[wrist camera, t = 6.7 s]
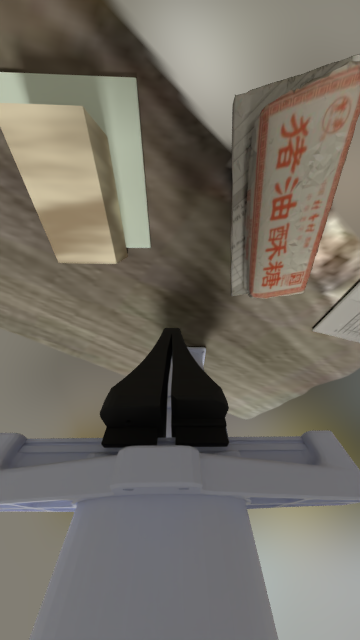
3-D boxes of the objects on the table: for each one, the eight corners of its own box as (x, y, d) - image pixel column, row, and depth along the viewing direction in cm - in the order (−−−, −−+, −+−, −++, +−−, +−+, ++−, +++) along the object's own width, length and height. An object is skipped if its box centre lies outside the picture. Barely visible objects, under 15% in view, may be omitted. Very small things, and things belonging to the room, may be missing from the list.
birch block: (116, 263, 15) (82, 105, 10) (58, 262, 15) (-11, 102, 9) (127, 256, 18) (107, 136, 13) (80, 255, 18) (39, 134, 13)
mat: (150, 247, 18) (150, 248, 18) (54, 245, 18) (52, 246, 18) (136, 80, 11) (135, 77, 11) (-18, 74, 11) (-22, 71, 11)
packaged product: (324, 295, 17) (240, 309, 18) (297, 281, 21) (229, 293, 22) (452, -22, 7) (253, 45, 8) (356, 65, 11) (229, 103, 12)
